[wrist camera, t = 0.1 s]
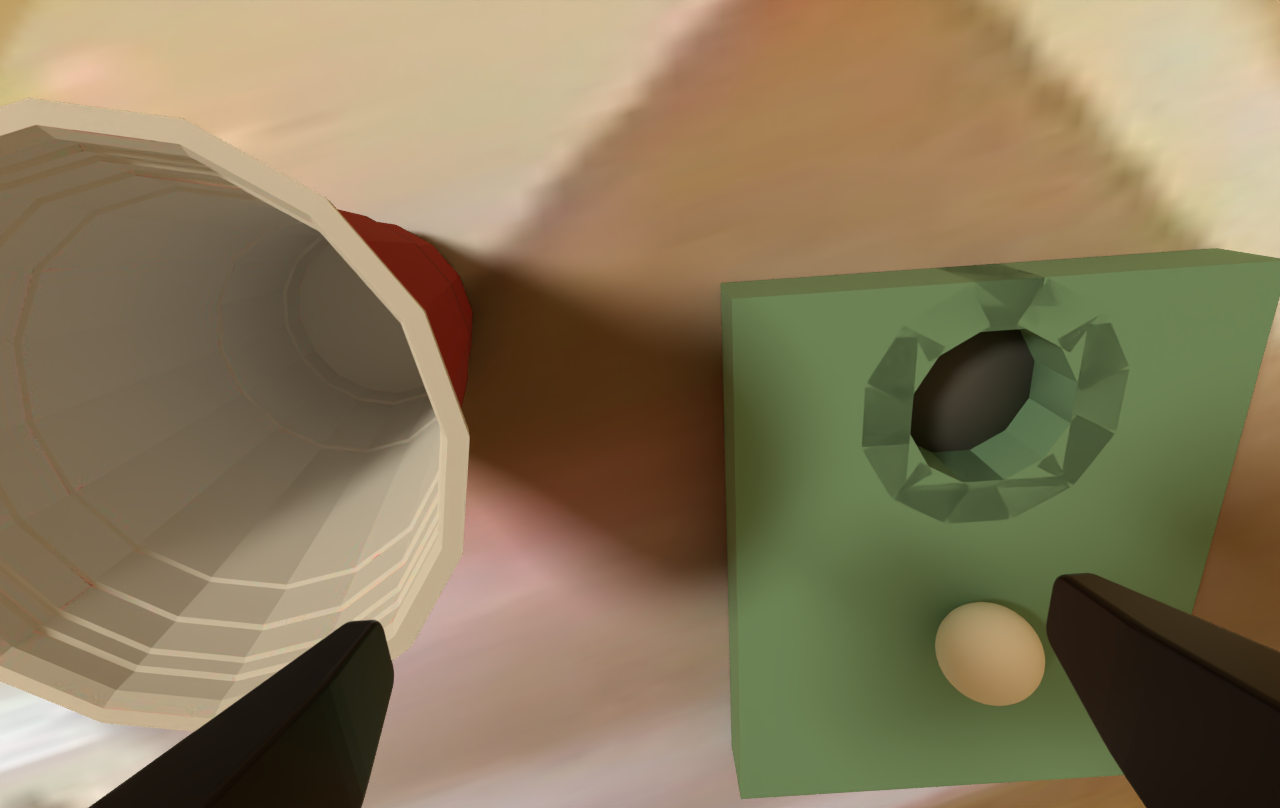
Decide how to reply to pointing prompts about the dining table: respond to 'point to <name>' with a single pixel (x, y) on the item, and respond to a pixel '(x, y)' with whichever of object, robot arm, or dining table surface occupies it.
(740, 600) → the putting mat
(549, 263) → the dining table surface
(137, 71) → the dining table surface
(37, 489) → the plastic cup
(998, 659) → the ball
